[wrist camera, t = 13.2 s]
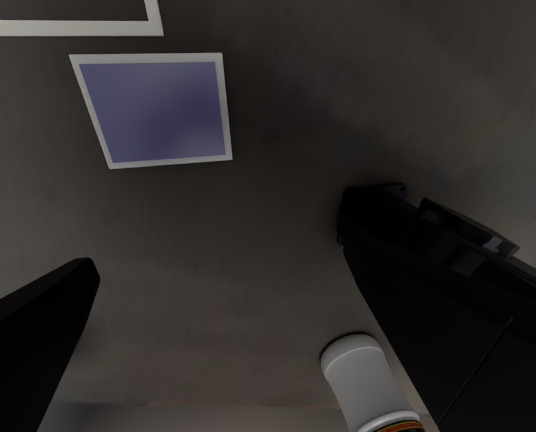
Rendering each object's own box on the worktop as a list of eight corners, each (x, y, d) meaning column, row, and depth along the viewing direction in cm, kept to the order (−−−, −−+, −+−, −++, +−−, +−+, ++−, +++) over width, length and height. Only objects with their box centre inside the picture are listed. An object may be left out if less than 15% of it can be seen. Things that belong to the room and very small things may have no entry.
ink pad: (221, 54, 16) (221, 52, 15) (231, 156, 20) (232, 160, 19) (76, 56, 15) (65, 54, 14) (113, 165, 18) (107, 170, 17)
